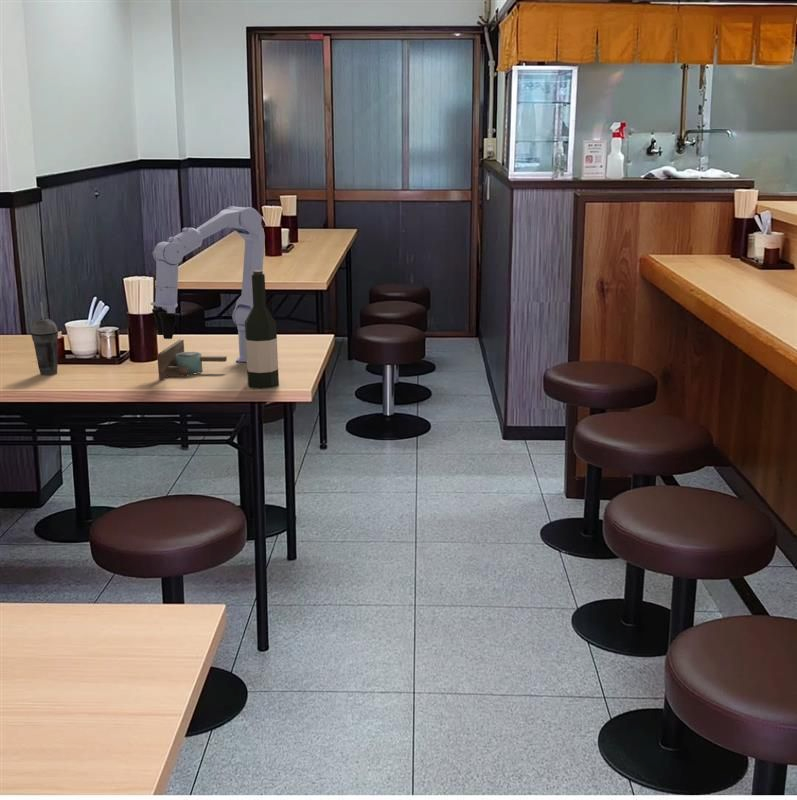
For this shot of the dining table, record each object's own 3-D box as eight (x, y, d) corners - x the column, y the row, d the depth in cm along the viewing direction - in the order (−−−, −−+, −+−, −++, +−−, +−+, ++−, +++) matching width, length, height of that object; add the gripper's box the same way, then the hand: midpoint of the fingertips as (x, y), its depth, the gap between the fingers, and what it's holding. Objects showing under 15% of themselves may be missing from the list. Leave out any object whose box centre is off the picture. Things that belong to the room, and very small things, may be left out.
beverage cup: (35, 377, 276) (27, 305, 271) (34, 372, 283) (26, 301, 278) (63, 375, 279) (56, 303, 274) (61, 369, 286) (54, 299, 280)
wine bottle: (251, 380, 270) (246, 268, 263) (282, 381, 269) (277, 268, 262) (243, 388, 262) (237, 273, 255) (275, 388, 261) (270, 273, 254)
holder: (203, 363, 291) (201, 339, 289) (182, 380, 272) (180, 354, 270) (181, 363, 292) (179, 339, 290) (159, 379, 272) (157, 354, 270)
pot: (173, 374, 278) (172, 356, 277) (181, 368, 285) (179, 351, 284) (223, 375, 277) (222, 357, 276) (229, 369, 284) (228, 351, 283)
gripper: (146, 283, 277) (145, 332, 280) (157, 288, 264) (155, 340, 267) (172, 284, 280) (170, 333, 282) (183, 289, 267) (181, 340, 269)
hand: (165, 336), depth 275 cm, fingers open, 7 cm apart
